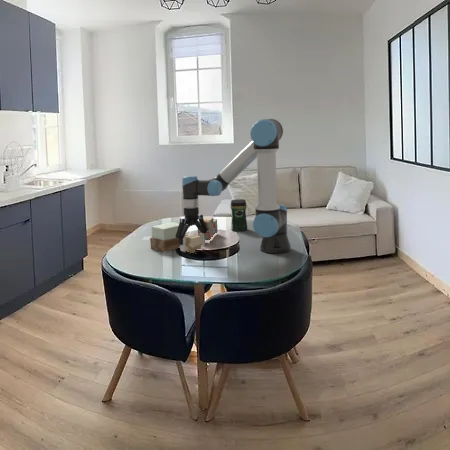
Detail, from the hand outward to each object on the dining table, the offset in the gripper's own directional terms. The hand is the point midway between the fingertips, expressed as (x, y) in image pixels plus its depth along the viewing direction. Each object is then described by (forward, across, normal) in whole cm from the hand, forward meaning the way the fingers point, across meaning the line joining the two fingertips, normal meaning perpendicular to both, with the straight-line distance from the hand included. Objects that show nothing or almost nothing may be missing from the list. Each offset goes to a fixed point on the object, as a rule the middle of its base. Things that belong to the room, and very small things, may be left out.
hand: (192, 248), depth 254 cm
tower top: (-4, +1, -17) cm, 18 cm away
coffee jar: (+2, -51, -14) cm, 53 cm away
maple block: (+2, 0, 0) cm, 2 cm away
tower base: (+2, +1, -17) cm, 17 cm away
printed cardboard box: (+2, -24, -13) cm, 28 cm away
